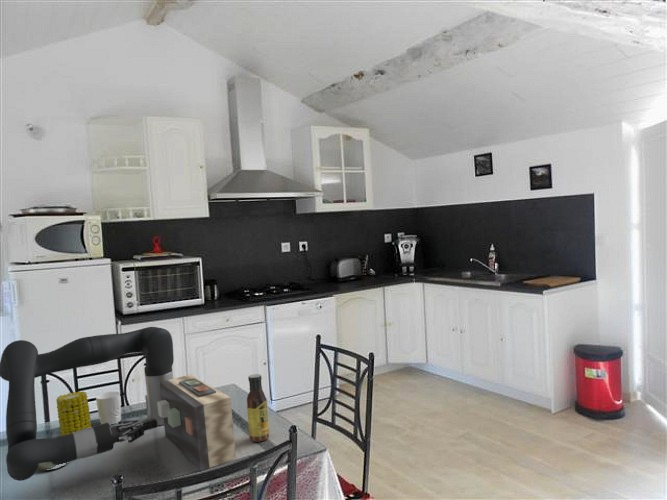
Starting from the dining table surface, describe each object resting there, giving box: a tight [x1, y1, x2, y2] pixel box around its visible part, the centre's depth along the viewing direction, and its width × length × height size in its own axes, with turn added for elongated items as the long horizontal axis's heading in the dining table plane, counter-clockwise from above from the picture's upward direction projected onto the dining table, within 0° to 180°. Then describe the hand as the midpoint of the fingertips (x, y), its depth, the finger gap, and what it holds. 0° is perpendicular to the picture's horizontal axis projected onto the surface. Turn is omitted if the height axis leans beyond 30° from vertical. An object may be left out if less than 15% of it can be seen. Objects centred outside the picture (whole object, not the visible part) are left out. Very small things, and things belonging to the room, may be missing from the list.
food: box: [55, 391, 92, 436], centre depth 175 cm, size 15×12×10 cm
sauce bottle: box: [246, 373, 270, 443], centre depth 161 cm, size 6×6×20 cm
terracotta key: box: [185, 416, 193, 436], centre depth 147 cm, size 2×4×4 cm, turn 35°
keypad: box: [160, 374, 237, 472], centre depth 158 cm, size 10×32×19 cm, turn 35°
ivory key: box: [157, 400, 170, 418], centre depth 162 cm, size 2×4×4 cm, turn 35°
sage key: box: [167, 408, 181, 427], centre depth 154 cm, size 2×4×4 cm, turn 35°
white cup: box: [95, 390, 122, 425], centre depth 185 cm, size 8×8×10 cm
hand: (156, 422), depth 151 cm, fingers closed
